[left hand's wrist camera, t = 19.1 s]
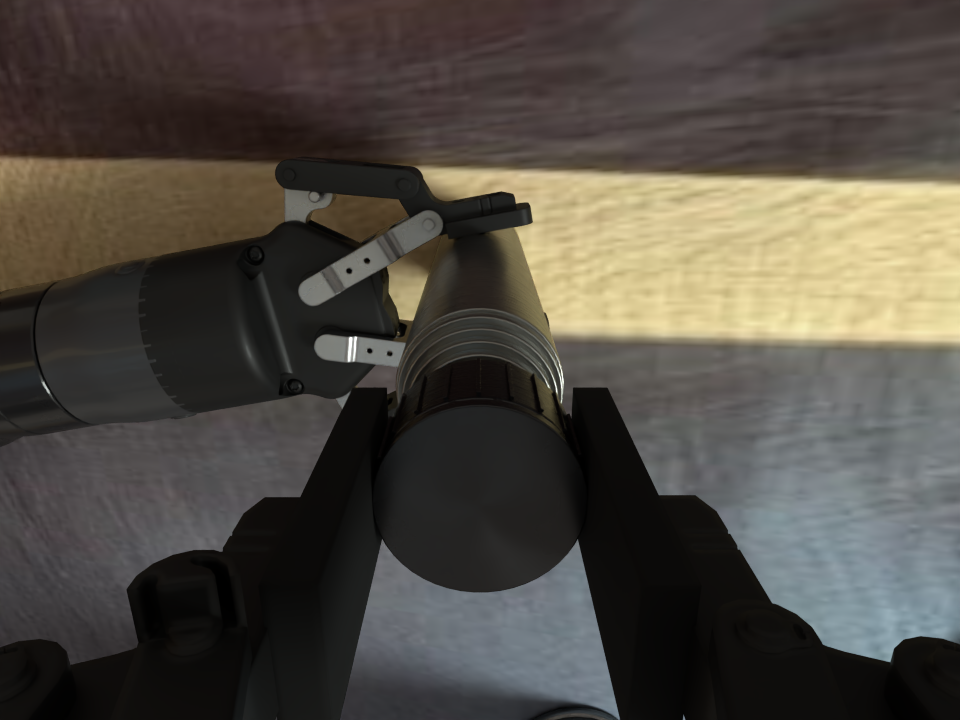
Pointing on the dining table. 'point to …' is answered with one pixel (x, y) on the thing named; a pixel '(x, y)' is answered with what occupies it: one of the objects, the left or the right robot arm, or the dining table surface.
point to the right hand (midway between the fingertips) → (537, 270)
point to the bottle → (480, 312)
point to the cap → (479, 478)
